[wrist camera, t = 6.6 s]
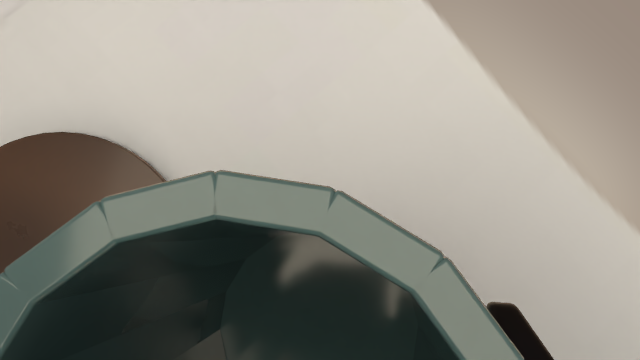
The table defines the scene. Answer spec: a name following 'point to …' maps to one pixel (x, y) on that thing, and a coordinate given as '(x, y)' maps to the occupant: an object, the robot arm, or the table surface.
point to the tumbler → (240, 281)
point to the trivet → (59, 184)
